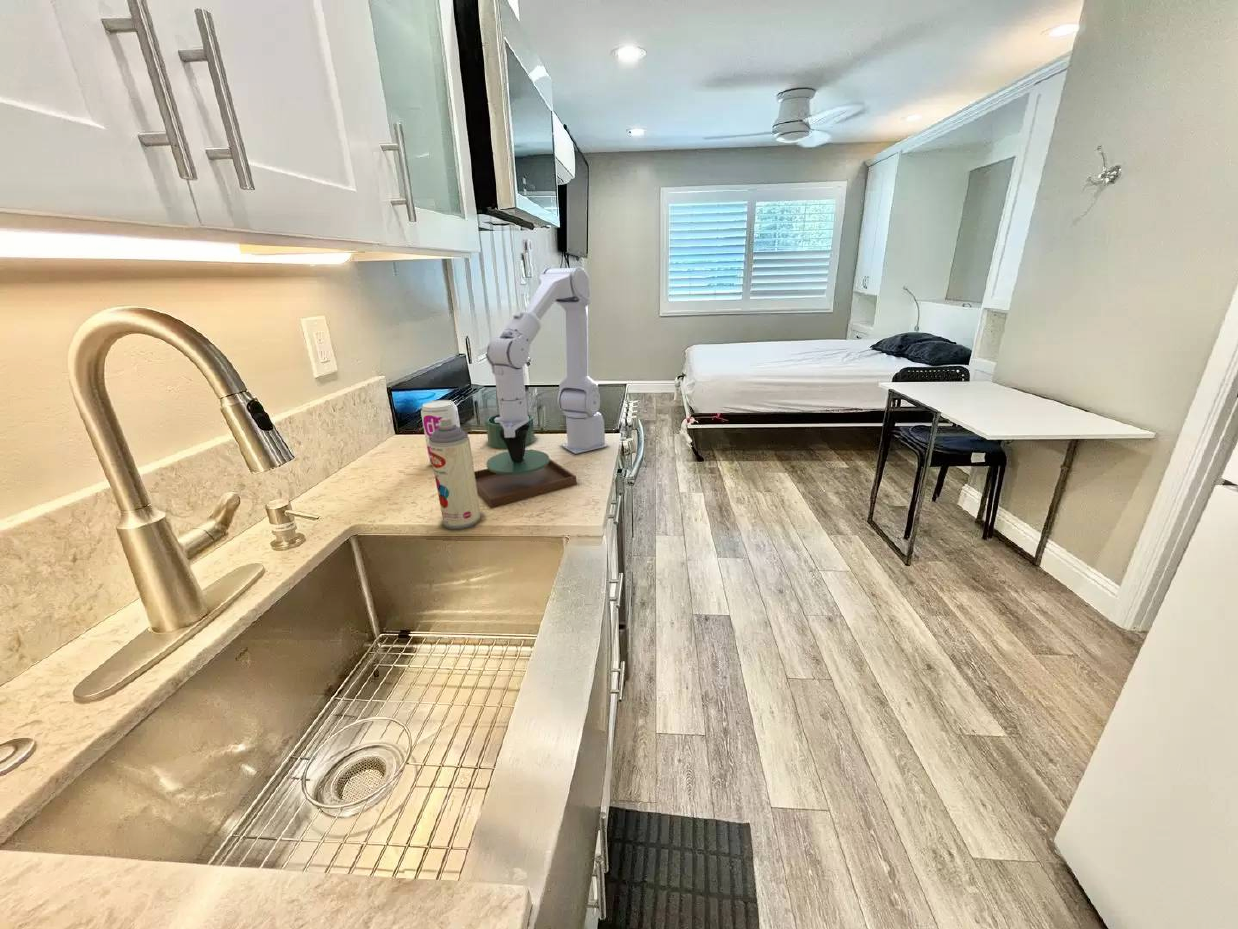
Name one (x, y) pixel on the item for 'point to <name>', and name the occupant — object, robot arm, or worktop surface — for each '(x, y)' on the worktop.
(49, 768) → the worktop surface
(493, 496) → the tray
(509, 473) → the tin lid
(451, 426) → the aerosol can
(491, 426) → the tin
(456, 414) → the supplement can
